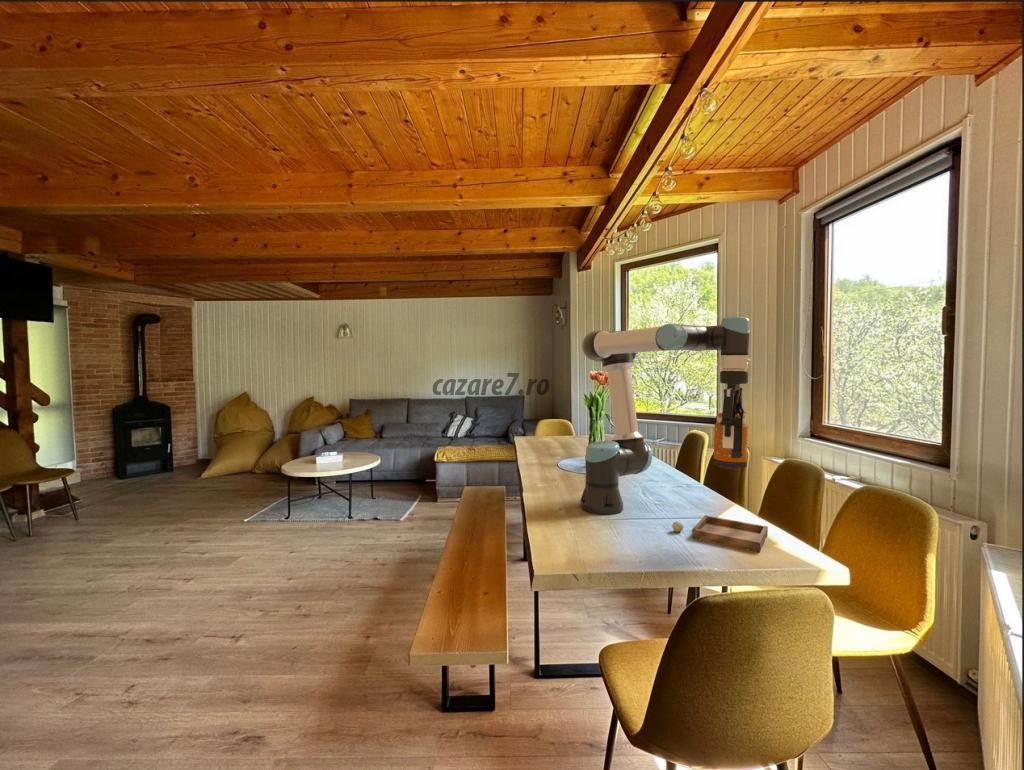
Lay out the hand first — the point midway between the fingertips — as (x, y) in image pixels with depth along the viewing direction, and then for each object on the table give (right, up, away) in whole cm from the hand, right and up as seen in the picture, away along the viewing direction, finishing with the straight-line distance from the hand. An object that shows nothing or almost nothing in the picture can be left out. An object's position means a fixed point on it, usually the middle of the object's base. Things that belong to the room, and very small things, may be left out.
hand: (731, 445), depth 139 cm
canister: (0, -7, 0) cm, 7 cm away
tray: (0, -28, +2) cm, 28 cm away
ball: (-14, -27, +6) cm, 31 cm away
